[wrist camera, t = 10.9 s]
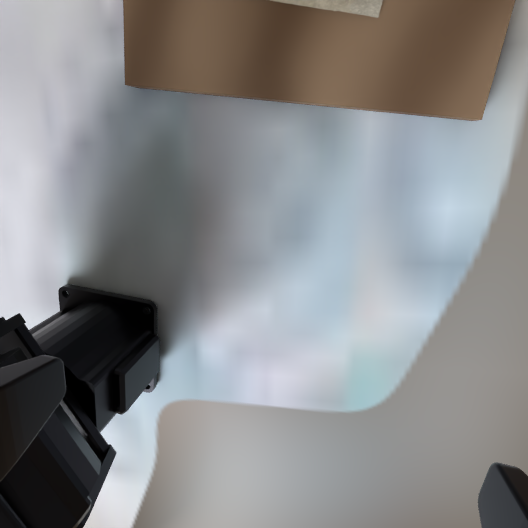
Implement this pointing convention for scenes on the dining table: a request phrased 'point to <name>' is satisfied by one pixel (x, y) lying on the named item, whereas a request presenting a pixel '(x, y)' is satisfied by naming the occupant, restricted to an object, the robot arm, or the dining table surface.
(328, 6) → the condiment
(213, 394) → the dining table surface
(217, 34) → the walnut board
